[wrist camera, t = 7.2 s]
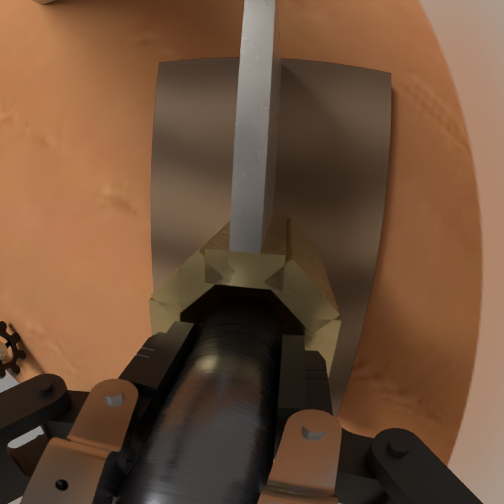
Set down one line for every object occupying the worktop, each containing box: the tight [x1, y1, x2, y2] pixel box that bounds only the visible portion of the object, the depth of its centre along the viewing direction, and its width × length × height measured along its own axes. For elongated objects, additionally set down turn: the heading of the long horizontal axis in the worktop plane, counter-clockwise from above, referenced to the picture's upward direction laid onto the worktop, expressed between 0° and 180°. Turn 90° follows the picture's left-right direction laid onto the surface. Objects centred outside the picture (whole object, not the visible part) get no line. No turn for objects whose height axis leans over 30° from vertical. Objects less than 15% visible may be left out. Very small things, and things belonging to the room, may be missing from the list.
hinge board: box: [151, 57, 391, 418], centre depth 19 cm, size 26×14×2 cm, turn 177°
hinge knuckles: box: [149, 0, 341, 377], centre depth 14 cm, size 24×9×8 cm, turn 177°
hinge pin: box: [112, 295, 283, 504], centre depth 7 cm, size 3×3×10 cm
